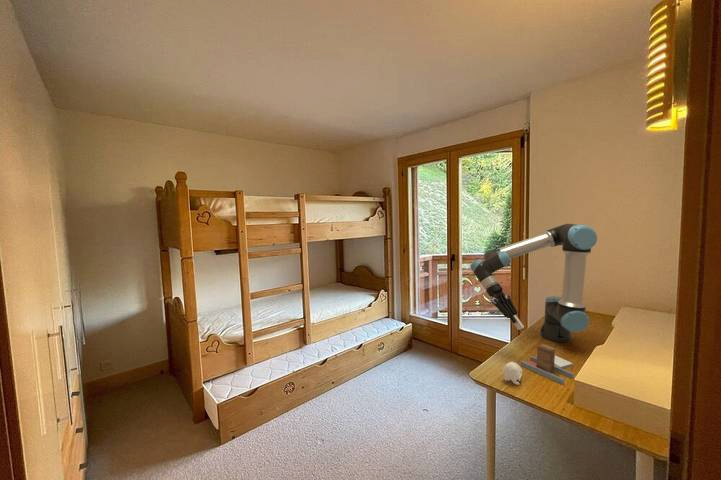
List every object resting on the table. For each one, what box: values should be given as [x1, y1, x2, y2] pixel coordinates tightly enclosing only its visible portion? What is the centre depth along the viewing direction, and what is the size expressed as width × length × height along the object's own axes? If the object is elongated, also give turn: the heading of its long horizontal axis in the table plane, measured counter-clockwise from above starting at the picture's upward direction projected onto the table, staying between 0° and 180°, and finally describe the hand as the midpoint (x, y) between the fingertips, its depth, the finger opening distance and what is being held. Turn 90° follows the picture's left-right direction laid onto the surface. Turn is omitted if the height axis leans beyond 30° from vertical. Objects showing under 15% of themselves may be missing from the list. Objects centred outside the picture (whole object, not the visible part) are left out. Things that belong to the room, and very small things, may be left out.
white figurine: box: [502, 361, 523, 386], centre depth 125 cm, size 6×8×12 cm
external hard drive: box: [535, 354, 574, 369], centre depth 141 cm, size 2×8×12 cm
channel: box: [519, 355, 575, 385], centre depth 131 cm, size 9×18×2 cm, turn 31°
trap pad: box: [526, 360, 537, 366], centre depth 137 cm, size 6×4×1 cm
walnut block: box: [536, 343, 556, 374], centre depth 131 cm, size 5×5×11 cm
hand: (521, 328), depth 140 cm, fingers closed
